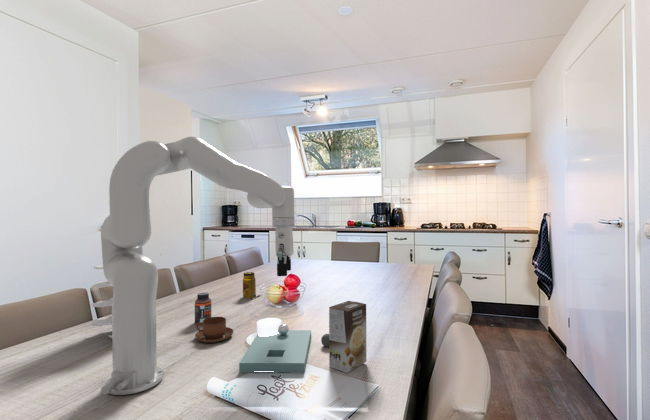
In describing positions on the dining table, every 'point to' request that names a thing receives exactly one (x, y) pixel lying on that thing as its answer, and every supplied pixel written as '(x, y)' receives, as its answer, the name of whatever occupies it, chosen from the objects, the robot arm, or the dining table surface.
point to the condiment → (249, 285)
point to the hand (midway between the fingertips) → (284, 273)
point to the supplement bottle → (202, 307)
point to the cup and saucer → (213, 330)
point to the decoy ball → (325, 340)
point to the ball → (283, 329)
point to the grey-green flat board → (277, 353)
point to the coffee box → (347, 336)
